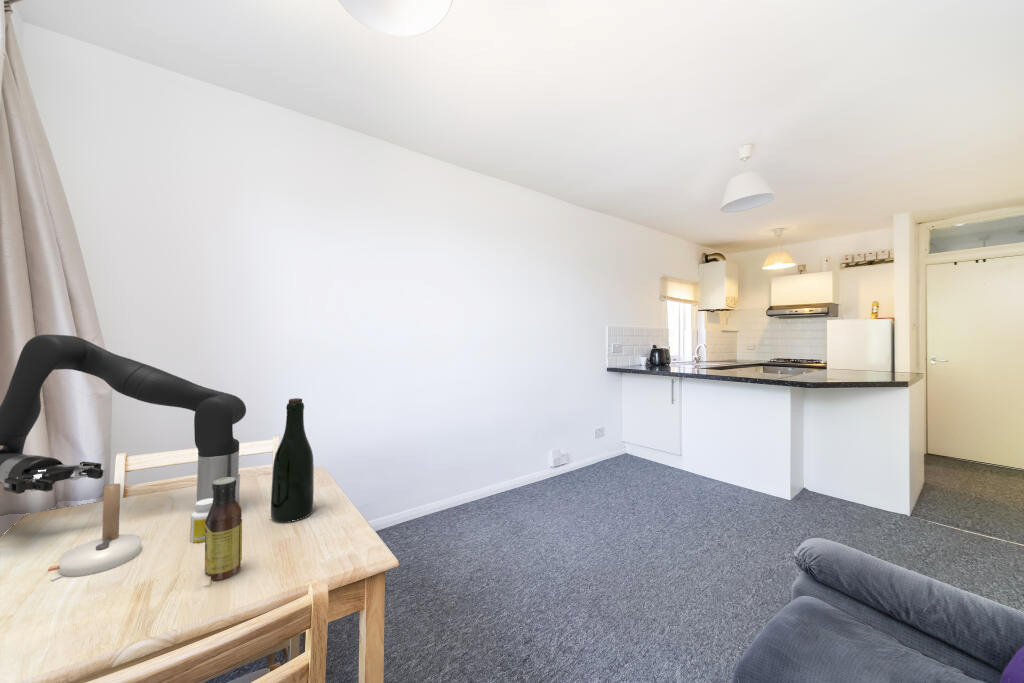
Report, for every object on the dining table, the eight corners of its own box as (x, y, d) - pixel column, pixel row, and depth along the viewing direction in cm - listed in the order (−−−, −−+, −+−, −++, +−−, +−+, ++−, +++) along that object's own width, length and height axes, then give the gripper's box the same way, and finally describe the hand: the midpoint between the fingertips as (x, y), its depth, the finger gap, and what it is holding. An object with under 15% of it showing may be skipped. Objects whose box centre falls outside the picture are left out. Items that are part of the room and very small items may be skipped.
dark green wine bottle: (273, 527, 100) (276, 402, 100) (268, 513, 108) (271, 397, 108) (316, 516, 106) (320, 399, 107) (309, 504, 115) (312, 395, 115)
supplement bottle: (223, 539, 93) (224, 499, 94) (197, 550, 89) (198, 508, 89) (210, 534, 96) (211, 495, 96) (185, 544, 91) (186, 503, 91)
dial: (130, 566, 80) (132, 497, 80) (45, 583, 74) (48, 508, 74) (147, 540, 90) (149, 479, 90) (74, 553, 84) (77, 488, 84)
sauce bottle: (217, 564, 83) (220, 474, 83) (248, 564, 83) (250, 473, 84) (195, 583, 76) (198, 485, 77) (228, 582, 77) (231, 484, 77)
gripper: (-15, 464, 85) (33, 473, 82) (71, 448, 99) (115, 455, 95) (-17, 498, 85) (31, 508, 81) (69, 477, 99) (114, 485, 95)
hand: (76, 480), depth 88 cm, fingers open, 8 cm apart
